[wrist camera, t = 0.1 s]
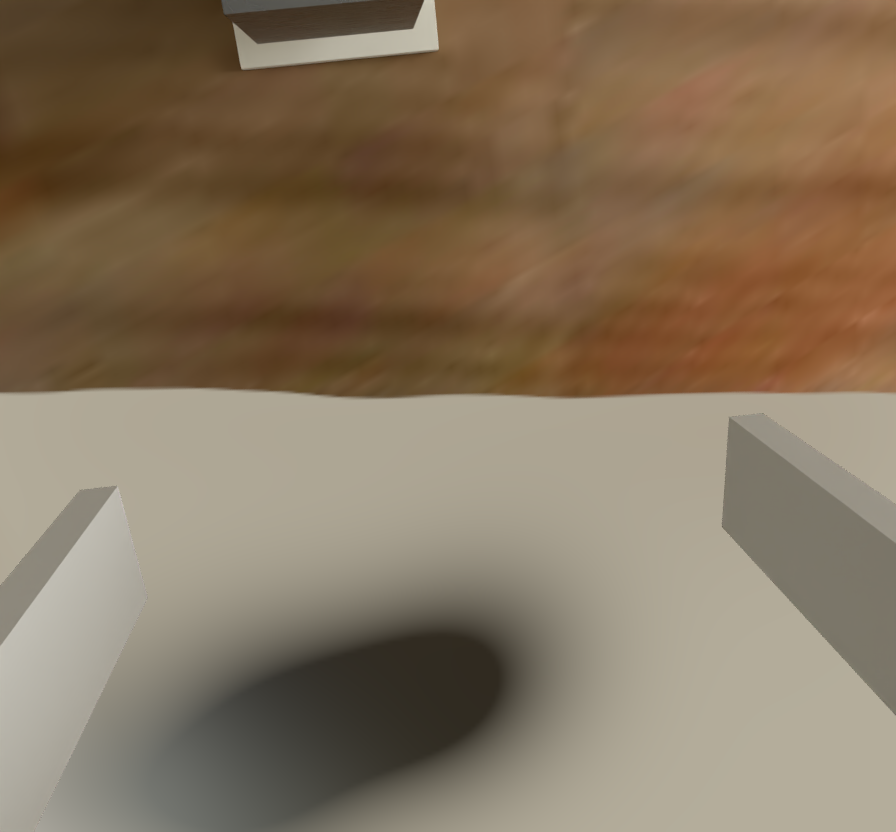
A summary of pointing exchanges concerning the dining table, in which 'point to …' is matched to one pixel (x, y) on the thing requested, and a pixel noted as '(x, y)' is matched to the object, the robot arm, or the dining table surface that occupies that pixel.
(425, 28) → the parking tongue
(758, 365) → the dining table surface
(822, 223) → the dining table surface
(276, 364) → the dining table surface
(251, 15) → the grey cube with knob
